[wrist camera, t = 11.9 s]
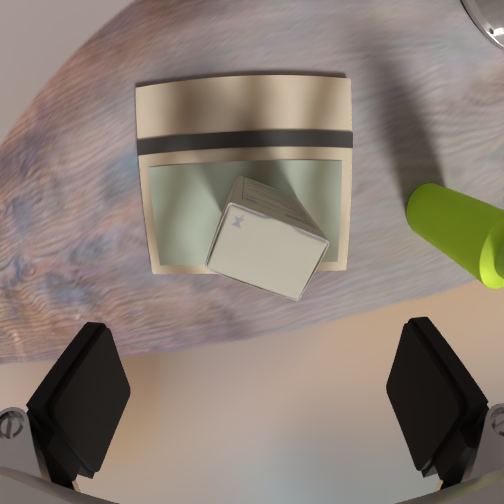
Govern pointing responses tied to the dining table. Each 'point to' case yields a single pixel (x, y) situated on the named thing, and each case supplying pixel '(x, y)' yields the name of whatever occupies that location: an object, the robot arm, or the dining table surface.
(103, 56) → the dining table surface
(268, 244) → the skincare box
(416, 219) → the soap dispenser
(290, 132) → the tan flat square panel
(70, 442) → the robot arm
